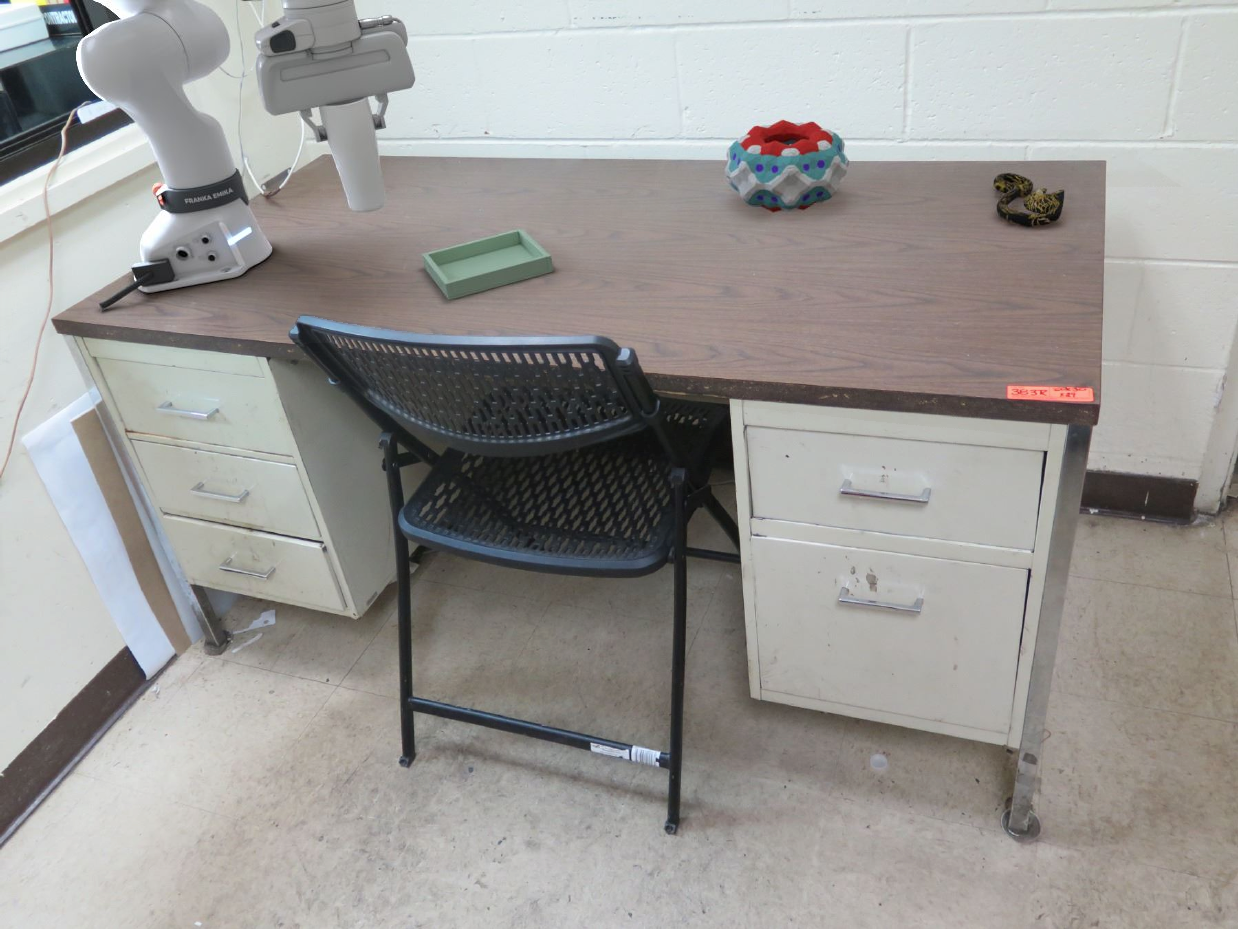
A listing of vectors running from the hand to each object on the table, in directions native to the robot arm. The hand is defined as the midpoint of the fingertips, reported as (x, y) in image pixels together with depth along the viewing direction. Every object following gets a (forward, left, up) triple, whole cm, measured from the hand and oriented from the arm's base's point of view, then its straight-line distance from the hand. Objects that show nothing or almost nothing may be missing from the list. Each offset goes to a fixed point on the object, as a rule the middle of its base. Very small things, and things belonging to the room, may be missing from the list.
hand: (350, 134), depth 134 cm
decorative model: (+66, -4, -24) cm, 71 cm away
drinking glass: (0, 0, -11) cm, 10 cm away
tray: (+15, 0, -24) cm, 29 cm away
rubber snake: (+93, -30, -24) cm, 101 cm away
